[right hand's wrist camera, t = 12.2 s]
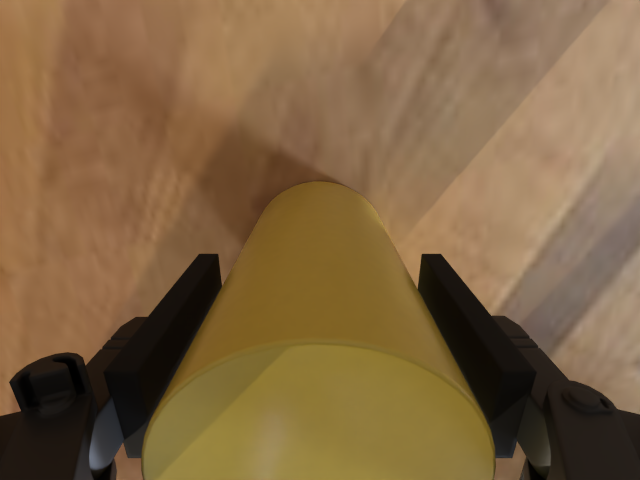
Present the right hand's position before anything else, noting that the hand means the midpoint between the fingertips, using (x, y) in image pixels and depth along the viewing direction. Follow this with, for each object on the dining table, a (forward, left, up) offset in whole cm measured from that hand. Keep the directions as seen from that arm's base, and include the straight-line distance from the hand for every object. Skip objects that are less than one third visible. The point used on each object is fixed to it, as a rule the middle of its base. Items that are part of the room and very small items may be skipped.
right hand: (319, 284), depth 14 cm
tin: (0, 0, -4) cm, 4 cm away
